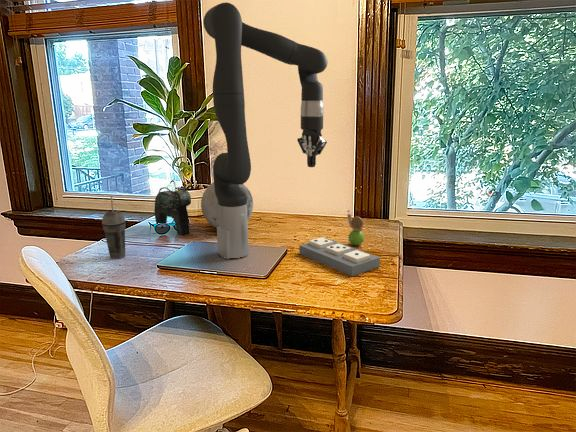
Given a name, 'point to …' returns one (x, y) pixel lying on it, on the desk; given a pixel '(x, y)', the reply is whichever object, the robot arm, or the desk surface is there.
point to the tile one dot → (357, 256)
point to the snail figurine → (355, 230)
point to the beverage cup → (114, 232)
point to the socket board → (339, 259)
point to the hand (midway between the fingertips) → (311, 166)
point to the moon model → (211, 204)
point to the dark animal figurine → (173, 208)
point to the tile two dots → (320, 243)
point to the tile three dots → (338, 249)
